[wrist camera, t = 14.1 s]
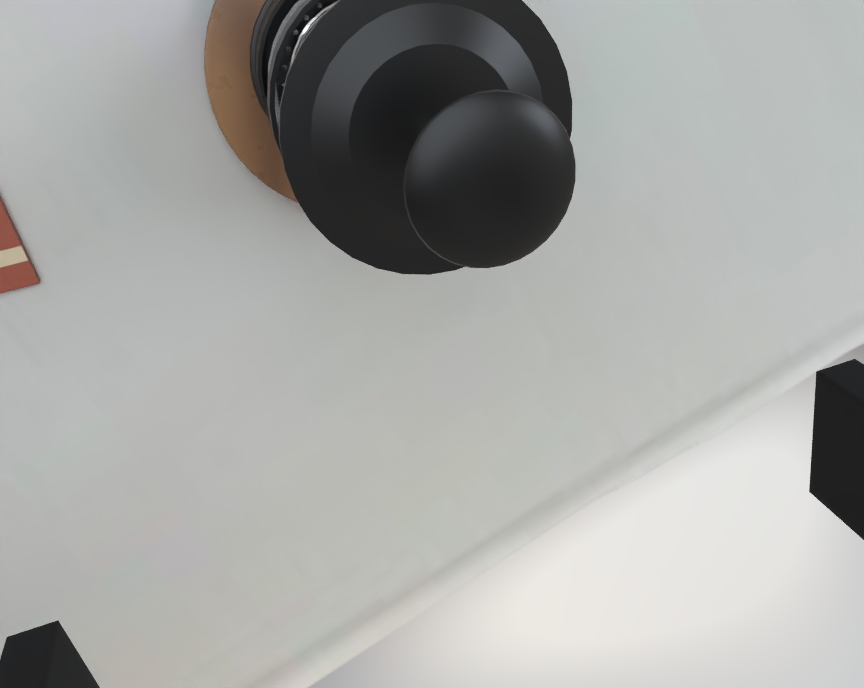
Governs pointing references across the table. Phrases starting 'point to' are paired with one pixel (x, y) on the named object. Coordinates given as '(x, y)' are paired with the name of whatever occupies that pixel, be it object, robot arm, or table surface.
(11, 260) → the napkin
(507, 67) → the french press
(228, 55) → the brown wooden round trivet
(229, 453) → the table surface
